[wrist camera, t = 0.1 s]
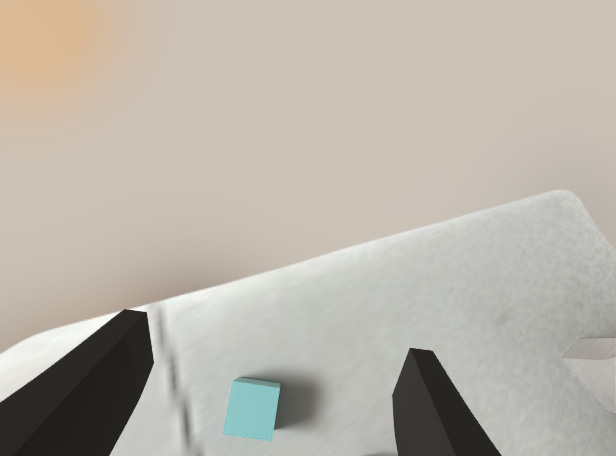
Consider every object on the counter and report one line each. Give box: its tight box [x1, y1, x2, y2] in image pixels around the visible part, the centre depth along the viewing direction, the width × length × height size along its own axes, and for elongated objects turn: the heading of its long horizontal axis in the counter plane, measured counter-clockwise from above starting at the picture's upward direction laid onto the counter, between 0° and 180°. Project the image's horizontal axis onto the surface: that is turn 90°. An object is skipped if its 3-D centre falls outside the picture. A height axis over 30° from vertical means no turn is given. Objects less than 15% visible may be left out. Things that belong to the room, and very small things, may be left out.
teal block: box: [223, 377, 281, 441], centre depth 37 cm, size 4×4×5 cm
